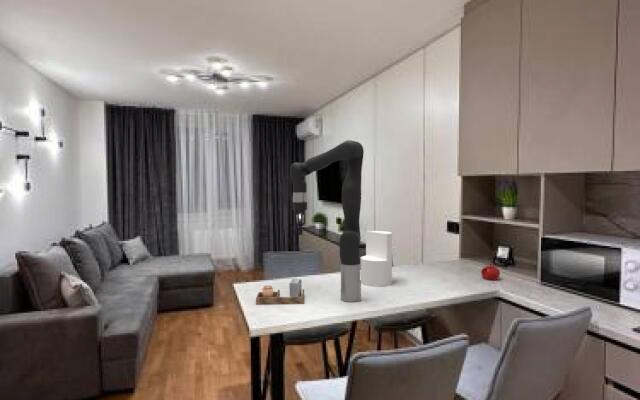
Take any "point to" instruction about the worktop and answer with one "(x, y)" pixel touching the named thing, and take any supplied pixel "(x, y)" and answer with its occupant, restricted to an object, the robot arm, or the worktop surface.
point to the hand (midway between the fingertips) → (300, 234)
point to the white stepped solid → (377, 259)
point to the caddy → (278, 299)
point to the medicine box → (295, 288)
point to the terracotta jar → (267, 291)
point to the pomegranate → (490, 272)
